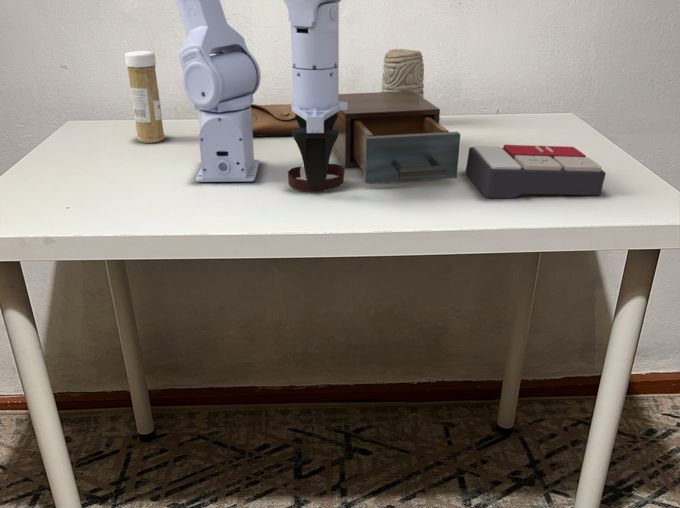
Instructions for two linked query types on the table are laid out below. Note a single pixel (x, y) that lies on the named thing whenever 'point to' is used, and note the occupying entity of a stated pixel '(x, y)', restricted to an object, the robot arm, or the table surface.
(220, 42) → the robot arm
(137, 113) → the sprinkles bottle
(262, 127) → the sunglasses case
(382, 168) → the drawer
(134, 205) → the table surface
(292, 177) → the watch
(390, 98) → the cabinet
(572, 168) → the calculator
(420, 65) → the carving
